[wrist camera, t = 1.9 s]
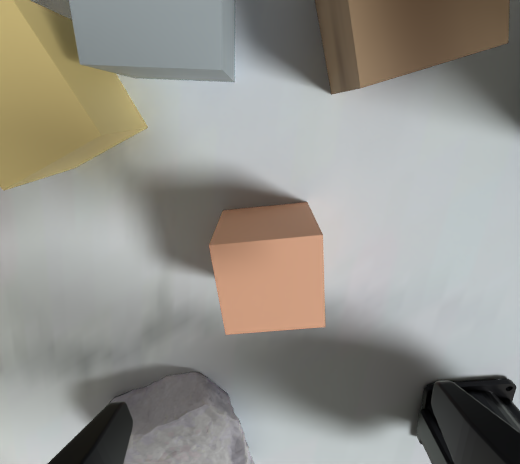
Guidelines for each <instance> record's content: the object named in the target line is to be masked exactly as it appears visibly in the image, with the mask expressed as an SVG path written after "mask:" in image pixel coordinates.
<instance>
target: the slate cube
mask: <svg viewBox="0 0 520 464" xmlns="http://www.w3.org/2000/svg"><path fill="white" fill-rule="evenodd" d="M69 4H70V10H71V16H72V22H73V27H74V33H75V39H76V45H77V51H78V56H79V62H80V65H84V66H88V67H92V68H96V69H100V70H104V71H108V72H113V73H117V74H121V75H125V76H129V77H133V78H143V79H168V80H194V81H220V82H235V0H69Z"/></svg>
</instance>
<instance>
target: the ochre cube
mask: <svg viewBox="0 0 520 464" xmlns="http://www.w3.org/2000/svg"><path fill="white" fill-rule="evenodd" d="M146 128H148V127H147V125H146V124H145V122H144V120H143V118H142V117H141V115H140V113H139V112H138V110H137V108H136V107H135V105H134V103H133V102H132V100H131V98H130V97H129V95H128V93H127V92H126V90H125V88H124V87H123V85H122V83H121V81H120V80H119V78H118V76H117V75H116V73H113V72H108V71H104V70H100V69H96V68H92V67H88V66H84V65H80V62H79V56H78V51H77V45H76V39H75V33H74V27H73V22H72V20H71V19H69V18H66V17H64V16H62V15H60V14H58V13H56V12H54V11H51V10H49V9H47V8H45V7H43V6H41V5H39V4H36V3H34V2H32V1H30V0H0V187H1V188H2V189H3V190H7V189H10V188H14V187H17V186H20V185H23V184H26V183H29V182H33V181H36V180H39V179H42V178H45V177H49V176H52V175H55V174H58V173H61V172H65V171H68V170H71V169H74V168H76V167H78V166H80V165H81V164H83V163H85V162H87V161H89V160H90V159H92V158H94V157H96V156H98V155H99V154H101V153H103V152H105V151H107V150H108V149H110V148H112V147H114V146H116V145H117V144H119V143H121V142H123V141H125V140H126V139H128V138H130V137H132V136H134V135H135V134H137V133H139V132H141V131H143V130H144V129H146Z"/></svg>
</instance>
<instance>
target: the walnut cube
mask: <svg viewBox="0 0 520 464" xmlns="http://www.w3.org/2000/svg"><path fill="white" fill-rule="evenodd" d="M315 4H316V10H317V15H318V21H319V27H320V32H321V38H322V44H323V49H324V55H325V61H326V67H327V72H328V78H329V84H330V89H331V94H336V93H340V92H345V91H350V90H355V89H359V88H363V87H366V86H369V85H373V84H376V83H379V82H383V81H386V80H389V79H392V78H396V77H399V76H402V75H406V74H409V73H412V72H415V71H419V70H422V69H425V68H428V67H432V66H435V65H438V64H442V63H445V62H448V61H451V60H455V59H458V58H461V57H464V56H468V55H471V54H474V53H478V52H481V51H484V50H487V49H491V48H494V47H497V46H500V45H504V44H507V43H508V39H509V5H510V0H315Z"/></svg>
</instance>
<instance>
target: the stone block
mask: <svg viewBox="0 0 520 464" xmlns="http://www.w3.org/2000/svg"><path fill="white" fill-rule="evenodd" d="M119 401H124V402H126V404H127V406H128V408H129V411H130V414H131V416H132V419H133V428H132V432H131V436H130V440H129V444H128V448H127V452H126V456H125V460H124V464H254V462H253V460H252V457H251V455H250V452H249V447H248V445H247V442H246V440H245V436H244V432H243V429H242V427H241V424H240V421H239V419H238V418H237V417H236V415H235V413H234V411H233V407H232V405H231V402H230V398H229V396H228V394H227V393H226V392H225V391H223V390H222V389H221V388H219V387H218V386H217V385H216V384H215V383H213V382H212V381H211V380H209V379H208V378H207V377H205V376H204V375H202V374H200V373H197V372H189V373H185V374H175V375H170V376H166V377H164V378H162V379H161V380H159V381H157V382H153V383H152V384H150V385H149V386H147V387H143V388H139V389H135V390H132V391H130V392H128V393H126V394H124V395H122V396H118V397H115V398H114V399H113V400H112V401H111V402H119ZM111 402H110V403H111ZM110 403H109V404H110Z"/></svg>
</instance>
